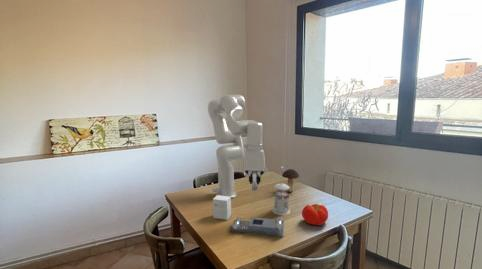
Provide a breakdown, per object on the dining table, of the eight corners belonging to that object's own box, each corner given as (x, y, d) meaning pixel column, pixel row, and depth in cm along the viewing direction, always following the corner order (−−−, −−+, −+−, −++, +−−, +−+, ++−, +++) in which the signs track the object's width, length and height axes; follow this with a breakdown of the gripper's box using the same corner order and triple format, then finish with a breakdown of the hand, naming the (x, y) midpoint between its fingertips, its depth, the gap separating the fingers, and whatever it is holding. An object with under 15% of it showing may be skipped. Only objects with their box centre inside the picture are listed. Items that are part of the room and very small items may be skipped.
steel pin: (251, 190, 134) (251, 170, 132) (252, 187, 137) (252, 168, 135) (257, 190, 133) (257, 171, 132) (258, 188, 136) (258, 169, 135)
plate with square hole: (230, 232, 125) (230, 221, 124) (235, 223, 133) (234, 212, 132) (283, 237, 120) (283, 226, 119) (283, 227, 129) (284, 216, 128)
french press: (270, 213, 143) (270, 168, 139) (275, 204, 154) (275, 162, 150) (288, 216, 140) (289, 169, 136) (292, 207, 151) (293, 163, 146)
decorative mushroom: (301, 190, 175) (301, 168, 172) (295, 196, 166) (296, 172, 163) (285, 187, 181) (285, 165, 178) (278, 192, 171) (279, 170, 169)
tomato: (306, 229, 126) (306, 212, 125) (299, 217, 139) (299, 201, 137) (332, 228, 127) (333, 211, 126) (323, 216, 139) (324, 200, 138)
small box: (231, 215, 142) (231, 196, 140) (227, 220, 136) (227, 200, 135) (217, 213, 144) (217, 194, 142) (213, 218, 139) (212, 198, 137)
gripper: (236, 148, 130) (237, 185, 133) (270, 149, 126) (270, 187, 129) (239, 145, 137) (240, 179, 140) (272, 146, 134) (271, 181, 137)
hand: (254, 183), depth 135 cm, fingers closed on steel pin, 3 cm apart
